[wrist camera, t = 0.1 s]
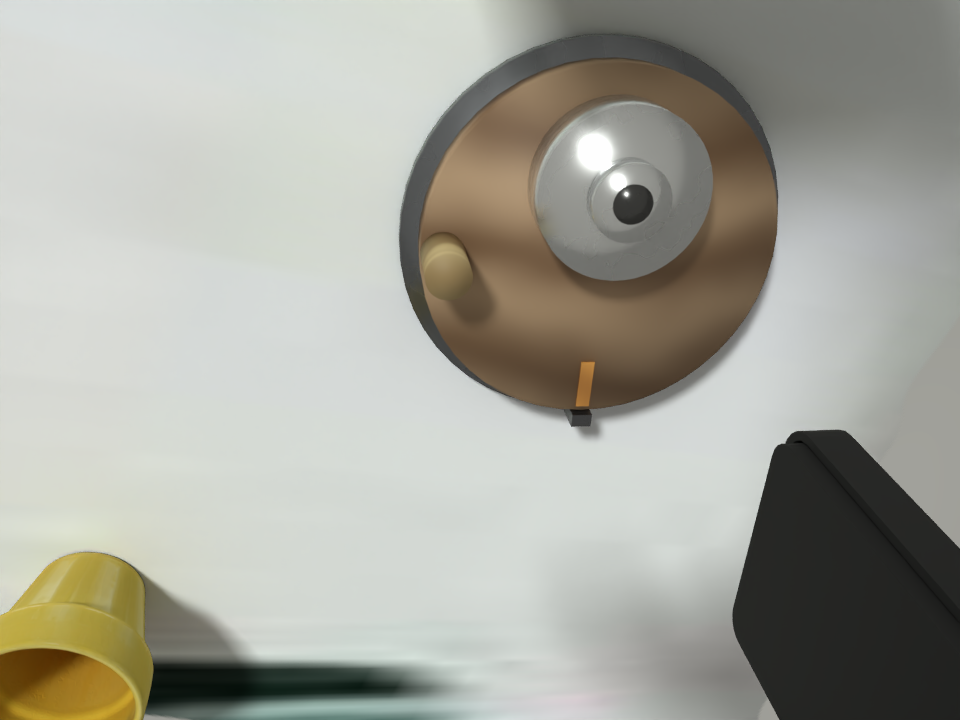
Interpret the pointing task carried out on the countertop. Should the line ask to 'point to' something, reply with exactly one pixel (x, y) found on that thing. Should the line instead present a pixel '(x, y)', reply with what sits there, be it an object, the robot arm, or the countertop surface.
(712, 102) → the turntable
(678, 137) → the cover
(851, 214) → the countertop surface
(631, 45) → the turntable base
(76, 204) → the countertop surface
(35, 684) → the plant pot
